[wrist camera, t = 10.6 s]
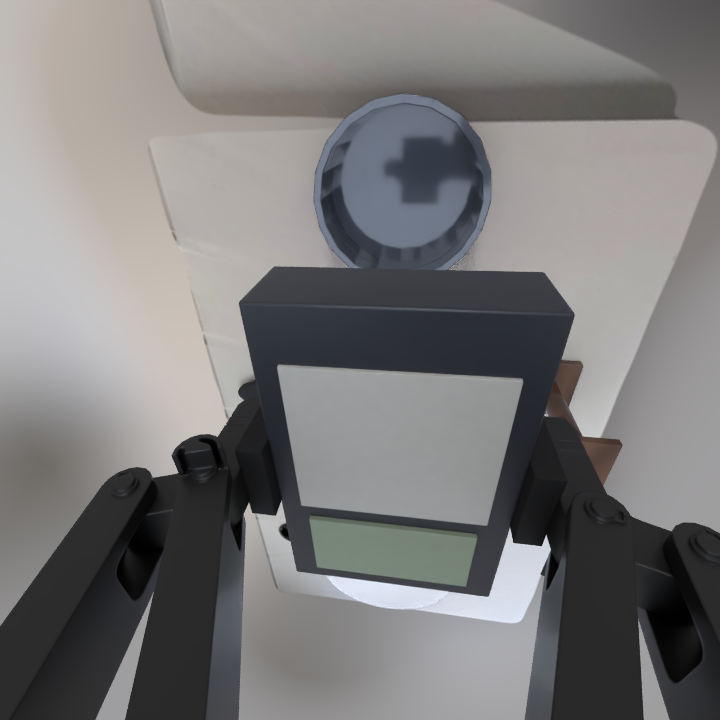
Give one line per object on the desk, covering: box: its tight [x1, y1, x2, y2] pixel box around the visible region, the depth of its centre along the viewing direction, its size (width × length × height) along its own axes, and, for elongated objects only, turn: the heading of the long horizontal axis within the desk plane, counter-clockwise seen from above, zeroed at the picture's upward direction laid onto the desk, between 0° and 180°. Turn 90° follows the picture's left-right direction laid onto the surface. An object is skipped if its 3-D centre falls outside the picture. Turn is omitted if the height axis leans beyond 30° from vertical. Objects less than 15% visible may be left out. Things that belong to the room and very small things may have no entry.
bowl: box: [327, 575, 448, 609], centre depth 71 cm, size 22×22×8 cm
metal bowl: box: [314, 93, 491, 270], centre depth 38 cm, size 16×16×6 cm
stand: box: [546, 360, 622, 485], centre depth 44 cm, size 7×9×16 cm
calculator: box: [239, 267, 575, 597], centre depth 12 cm, size 7×11×3 cm, turn 2°
